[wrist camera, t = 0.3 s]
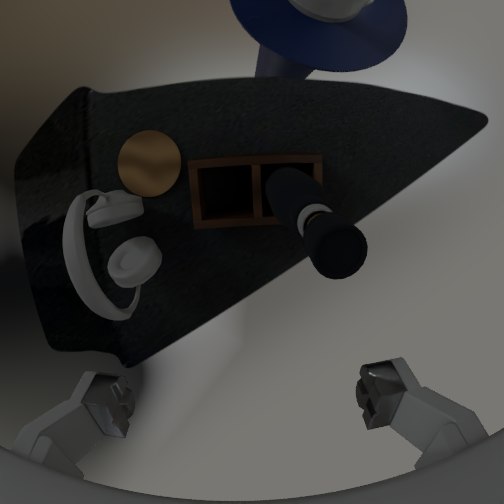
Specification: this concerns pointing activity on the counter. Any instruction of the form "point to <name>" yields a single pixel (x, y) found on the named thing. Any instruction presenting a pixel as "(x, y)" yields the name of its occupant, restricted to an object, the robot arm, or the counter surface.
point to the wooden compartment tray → (257, 213)
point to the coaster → (149, 163)
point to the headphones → (122, 260)
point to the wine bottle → (315, 222)
